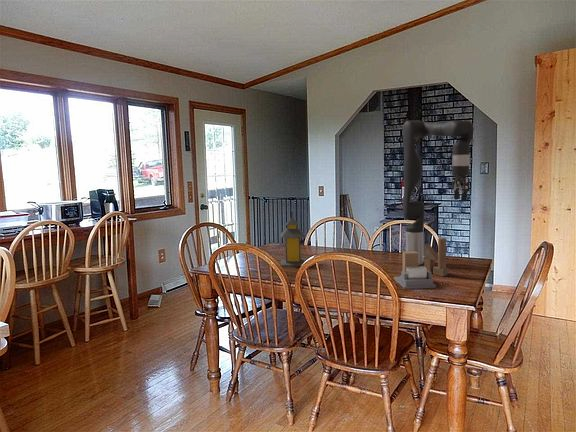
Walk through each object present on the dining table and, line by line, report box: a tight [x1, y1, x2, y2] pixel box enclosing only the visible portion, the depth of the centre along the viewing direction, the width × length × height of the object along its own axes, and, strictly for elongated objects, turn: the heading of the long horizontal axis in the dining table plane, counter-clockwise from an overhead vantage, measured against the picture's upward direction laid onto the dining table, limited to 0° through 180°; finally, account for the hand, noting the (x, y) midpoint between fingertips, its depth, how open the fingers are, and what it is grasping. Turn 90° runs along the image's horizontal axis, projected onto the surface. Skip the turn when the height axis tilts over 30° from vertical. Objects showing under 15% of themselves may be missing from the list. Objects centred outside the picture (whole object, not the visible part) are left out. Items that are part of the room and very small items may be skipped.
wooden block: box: [423, 237, 449, 277], centre depth 214 cm, size 4×11×18 cm, turn 37°
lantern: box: [279, 209, 307, 267], centre depth 245 cm, size 14×14×30 cm
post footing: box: [393, 250, 437, 290], centre depth 200 cm, size 17×14×13 cm
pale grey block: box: [406, 265, 427, 279], centre depth 196 cm, size 4×8×7 cm, turn 91°
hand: (460, 200), depth 205 cm, fingers open, 8 cm apart
